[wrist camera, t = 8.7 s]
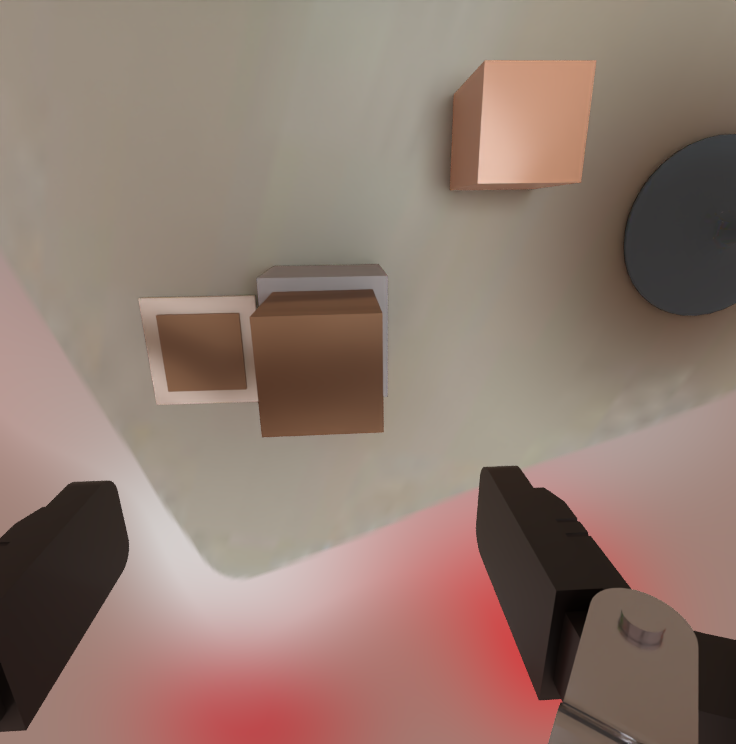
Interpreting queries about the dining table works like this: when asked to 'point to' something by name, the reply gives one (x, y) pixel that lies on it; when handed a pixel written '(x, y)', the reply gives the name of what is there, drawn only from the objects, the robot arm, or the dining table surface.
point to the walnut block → (319, 362)
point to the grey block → (331, 288)
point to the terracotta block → (521, 125)
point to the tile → (200, 348)
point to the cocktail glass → (687, 230)
